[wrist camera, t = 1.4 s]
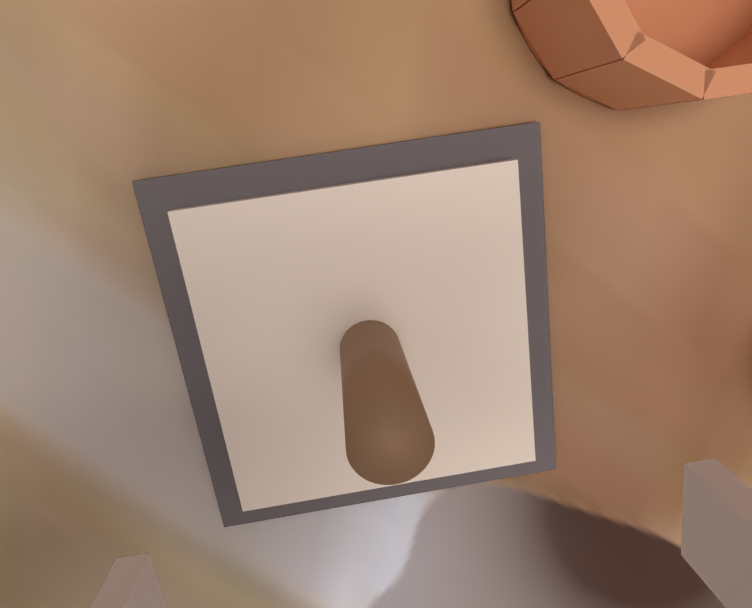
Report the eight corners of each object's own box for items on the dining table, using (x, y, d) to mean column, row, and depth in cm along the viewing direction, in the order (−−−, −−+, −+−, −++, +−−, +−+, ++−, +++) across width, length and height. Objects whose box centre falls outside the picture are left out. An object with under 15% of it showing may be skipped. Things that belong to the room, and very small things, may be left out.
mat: (226, 520, 30) (224, 527, 30) (135, 180, 25) (132, 181, 24) (552, 464, 31) (555, 469, 31) (536, 122, 26) (539, 121, 25)
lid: (245, 499, 29) (206, 670, 20) (173, 209, 25) (76, 248, 15) (528, 450, 30) (622, 592, 20) (510, 159, 25) (621, 166, 16)
